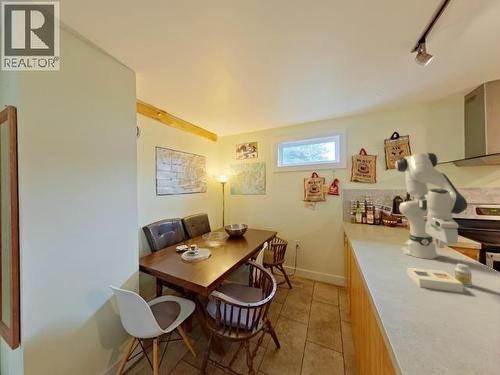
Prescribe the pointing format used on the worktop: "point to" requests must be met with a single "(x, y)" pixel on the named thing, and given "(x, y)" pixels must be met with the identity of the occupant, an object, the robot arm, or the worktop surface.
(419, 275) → the charcoal key
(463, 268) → the supplement bottle
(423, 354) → the worktop surface
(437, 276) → the terracotta key
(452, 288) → the console
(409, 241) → the robot arm
